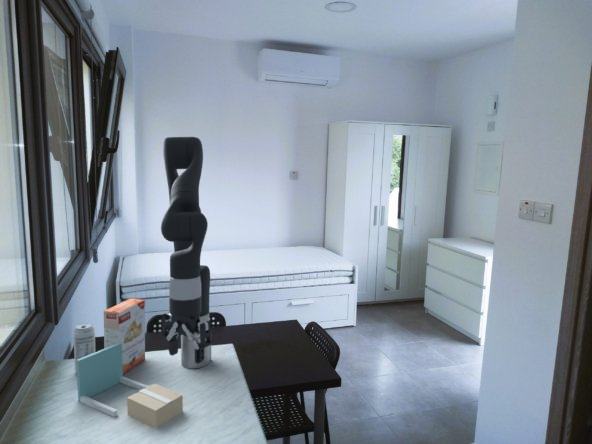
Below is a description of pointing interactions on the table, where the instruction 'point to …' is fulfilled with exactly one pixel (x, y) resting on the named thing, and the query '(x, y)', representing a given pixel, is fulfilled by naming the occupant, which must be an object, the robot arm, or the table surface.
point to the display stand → (102, 376)
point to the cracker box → (126, 331)
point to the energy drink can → (83, 341)
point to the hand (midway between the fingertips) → (186, 358)
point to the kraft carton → (155, 405)
